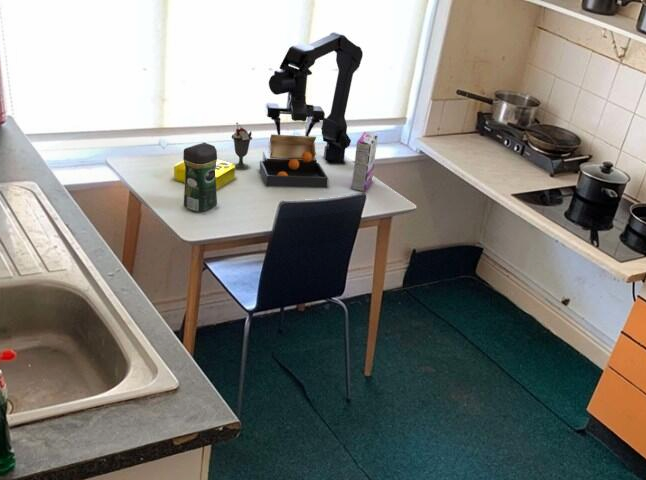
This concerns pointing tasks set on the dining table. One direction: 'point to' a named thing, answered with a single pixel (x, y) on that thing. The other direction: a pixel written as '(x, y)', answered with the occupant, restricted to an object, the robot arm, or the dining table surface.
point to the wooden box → (291, 146)
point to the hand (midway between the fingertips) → (292, 137)
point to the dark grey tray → (293, 175)
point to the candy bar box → (364, 161)
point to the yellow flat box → (223, 172)
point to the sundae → (241, 145)
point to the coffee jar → (200, 177)
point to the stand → (267, 158)
